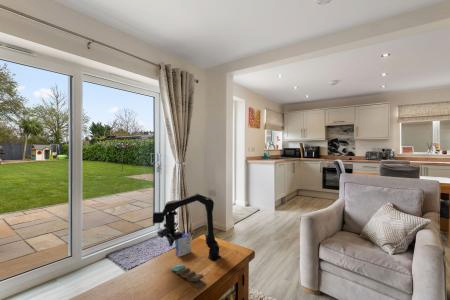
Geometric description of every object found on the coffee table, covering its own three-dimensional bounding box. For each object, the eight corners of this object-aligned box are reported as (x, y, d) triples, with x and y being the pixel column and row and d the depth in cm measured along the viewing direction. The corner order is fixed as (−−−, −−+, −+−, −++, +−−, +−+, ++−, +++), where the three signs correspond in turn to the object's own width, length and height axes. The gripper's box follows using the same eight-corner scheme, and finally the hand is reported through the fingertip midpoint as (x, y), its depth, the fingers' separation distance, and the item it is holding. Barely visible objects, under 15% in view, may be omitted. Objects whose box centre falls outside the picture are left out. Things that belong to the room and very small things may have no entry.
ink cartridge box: (187, 249, 155) (186, 229, 155) (191, 252, 151) (190, 231, 151) (175, 254, 149) (174, 233, 149) (178, 257, 145) (178, 235, 144)
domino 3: (180, 274, 122) (187, 275, 117) (187, 270, 126) (194, 271, 120) (180, 277, 122) (188, 278, 117) (188, 273, 125) (195, 274, 120)
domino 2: (175, 270, 126) (182, 271, 121) (182, 267, 129) (189, 268, 124) (175, 273, 126) (182, 274, 120) (182, 270, 129) (190, 270, 124)
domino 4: (186, 277, 118) (196, 278, 113) (193, 273, 122) (202, 274, 117) (187, 280, 118) (197, 281, 113) (194, 276, 122) (203, 277, 117)
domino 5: (189, 281, 117) (198, 287, 111) (196, 277, 120) (205, 283, 115) (189, 284, 117) (198, 290, 111) (196, 279, 120) (205, 286, 115)
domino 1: (171, 267, 129) (178, 268, 124) (178, 264, 133) (185, 264, 127) (171, 270, 129) (178, 270, 124) (178, 267, 132) (185, 267, 127)
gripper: (151, 222, 138) (152, 246, 138) (166, 229, 125) (167, 255, 125) (166, 217, 146) (167, 240, 146) (182, 223, 133) (183, 248, 133)
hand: (171, 246), depth 137 cm, fingers closed
